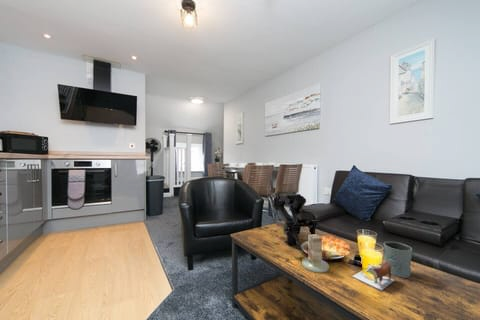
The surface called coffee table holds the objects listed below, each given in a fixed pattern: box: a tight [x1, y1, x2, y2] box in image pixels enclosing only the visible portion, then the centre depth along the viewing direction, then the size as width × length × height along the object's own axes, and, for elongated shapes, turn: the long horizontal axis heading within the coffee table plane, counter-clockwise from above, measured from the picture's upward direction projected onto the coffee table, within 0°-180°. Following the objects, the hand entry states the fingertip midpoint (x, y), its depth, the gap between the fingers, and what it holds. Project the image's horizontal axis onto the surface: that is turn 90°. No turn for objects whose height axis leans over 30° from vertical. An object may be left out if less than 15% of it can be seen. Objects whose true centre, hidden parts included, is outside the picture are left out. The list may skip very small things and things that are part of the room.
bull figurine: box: [365, 261, 392, 287], centre depth 80 cm, size 4×13×8 cm, turn 113°
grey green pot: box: [383, 241, 413, 279], centre depth 88 cm, size 10×10×12 cm
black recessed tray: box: [347, 253, 363, 269], centre depth 95 cm, size 12×7×5 cm, turn 48°
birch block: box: [307, 233, 323, 266], centre depth 93 cm, size 4×4×13 cm
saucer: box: [301, 257, 330, 274], centre depth 93 cm, size 12×12×1 cm
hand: (306, 240), depth 101 cm, fingers open, 9 cm apart
